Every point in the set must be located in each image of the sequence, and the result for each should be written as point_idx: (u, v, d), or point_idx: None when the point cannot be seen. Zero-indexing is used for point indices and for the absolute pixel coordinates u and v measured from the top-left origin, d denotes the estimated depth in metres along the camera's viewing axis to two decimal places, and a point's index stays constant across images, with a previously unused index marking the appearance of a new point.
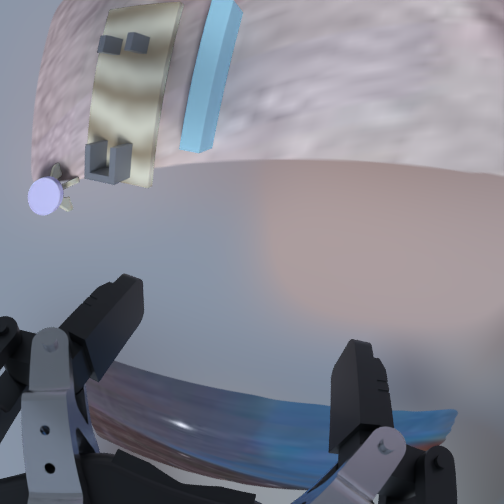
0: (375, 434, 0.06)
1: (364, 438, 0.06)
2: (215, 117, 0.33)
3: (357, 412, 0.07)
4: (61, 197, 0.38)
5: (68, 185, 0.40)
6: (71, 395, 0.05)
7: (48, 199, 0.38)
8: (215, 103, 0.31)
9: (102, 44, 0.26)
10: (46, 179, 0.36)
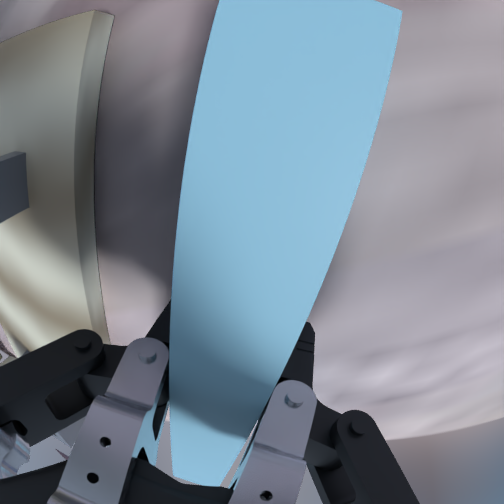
0: (277, 391, 0.07)
1: None
2: None
3: None
4: None
5: None
6: (150, 415, 0.06)
7: None
8: None
9: None
10: None
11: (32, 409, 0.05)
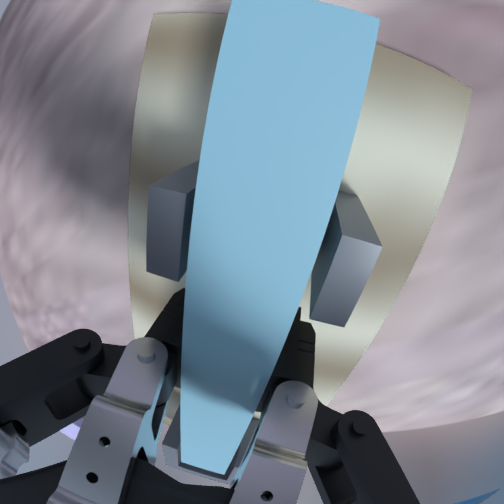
0: (278, 391, 0.07)
1: None
2: None
3: None
4: None
5: None
6: (149, 415, 0.06)
7: None
8: None
9: (169, 241, 0.07)
10: None
11: (31, 409, 0.05)
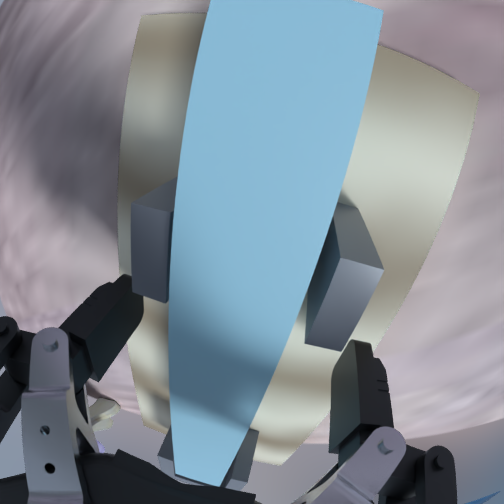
0: (375, 434, 0.06)
1: (364, 438, 0.06)
2: None
3: (357, 412, 0.07)
4: (103, 452, 0.18)
5: (103, 418, 0.20)
6: (71, 395, 0.05)
7: None
8: None
9: (154, 262, 0.07)
10: None
11: None
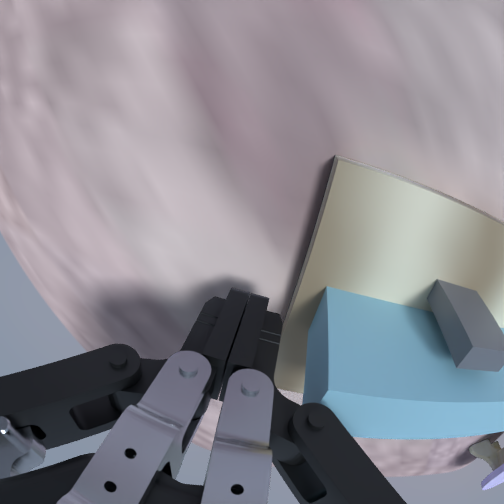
0: (232, 382, 0.07)
1: None
2: None
3: (230, 353, 0.08)
4: None
5: None
6: (182, 431, 0.05)
7: None
8: None
9: None
10: (503, 472, 0.12)
11: (54, 418, 0.05)
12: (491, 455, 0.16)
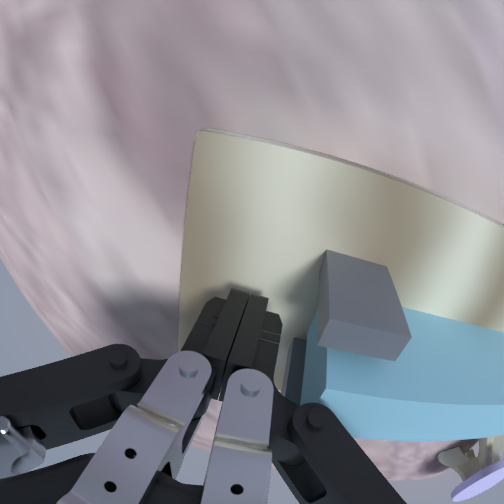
0: (231, 381, 0.07)
1: None
2: None
3: (230, 353, 0.08)
4: None
5: (491, 442, 0.14)
6: (182, 431, 0.05)
7: (494, 478, 0.12)
8: None
9: None
10: (472, 485, 0.12)
11: (54, 418, 0.05)
12: (461, 465, 0.16)
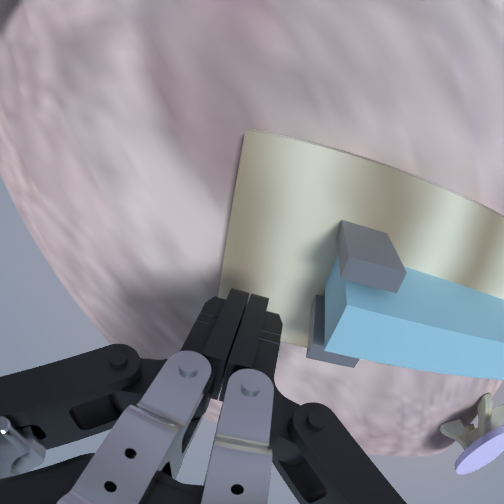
0: (232, 381, 0.07)
1: None
2: None
3: (230, 353, 0.08)
4: None
5: (489, 412, 0.17)
6: (182, 431, 0.05)
7: (494, 448, 0.15)
8: None
9: (337, 354, 0.13)
10: (473, 452, 0.15)
11: (54, 418, 0.05)
12: (463, 435, 0.19)
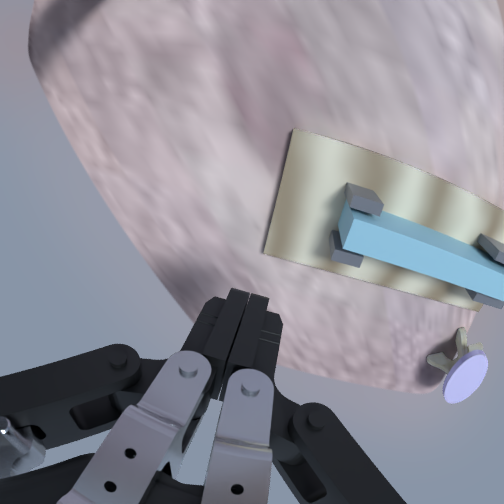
0: (232, 382, 0.07)
1: None
2: (478, 252, 0.22)
3: (230, 353, 0.08)
4: (483, 353, 0.24)
5: (465, 343, 0.28)
6: (182, 431, 0.05)
7: (473, 373, 0.25)
8: (471, 252, 0.21)
9: (349, 257, 0.22)
10: (455, 372, 0.25)
11: (54, 418, 0.05)
12: (446, 364, 0.29)
